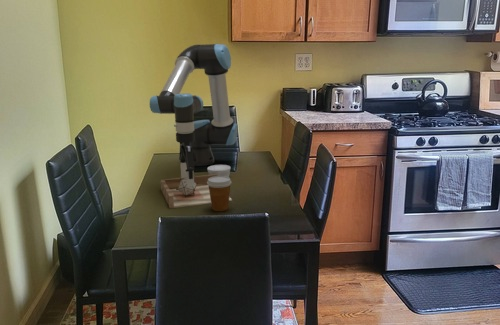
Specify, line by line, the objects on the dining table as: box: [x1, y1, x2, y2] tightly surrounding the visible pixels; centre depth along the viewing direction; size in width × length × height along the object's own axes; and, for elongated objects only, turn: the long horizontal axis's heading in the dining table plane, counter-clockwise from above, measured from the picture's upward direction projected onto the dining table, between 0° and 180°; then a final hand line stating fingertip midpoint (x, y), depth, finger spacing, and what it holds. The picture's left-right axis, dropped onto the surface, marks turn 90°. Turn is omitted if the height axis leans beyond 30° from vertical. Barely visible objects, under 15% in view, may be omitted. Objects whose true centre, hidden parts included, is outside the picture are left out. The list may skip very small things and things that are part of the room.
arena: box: [160, 174, 233, 209], centre depth 193 cm, size 24×26×5 cm
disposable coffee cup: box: [207, 176, 233, 212], centre depth 177 cm, size 10×10×12 cm
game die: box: [176, 177, 198, 198], centre depth 191 cm, size 9×8×10 cm
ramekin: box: [206, 164, 232, 178], centre depth 219 cm, size 11×11×5 cm
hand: (187, 181), depth 191 cm, fingers open, 13 cm apart
